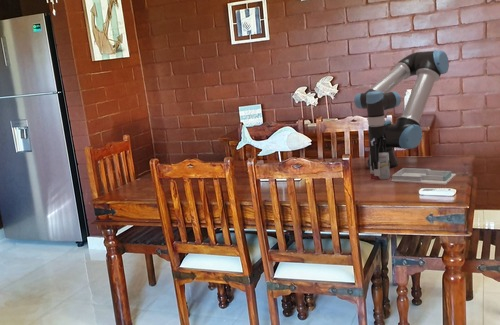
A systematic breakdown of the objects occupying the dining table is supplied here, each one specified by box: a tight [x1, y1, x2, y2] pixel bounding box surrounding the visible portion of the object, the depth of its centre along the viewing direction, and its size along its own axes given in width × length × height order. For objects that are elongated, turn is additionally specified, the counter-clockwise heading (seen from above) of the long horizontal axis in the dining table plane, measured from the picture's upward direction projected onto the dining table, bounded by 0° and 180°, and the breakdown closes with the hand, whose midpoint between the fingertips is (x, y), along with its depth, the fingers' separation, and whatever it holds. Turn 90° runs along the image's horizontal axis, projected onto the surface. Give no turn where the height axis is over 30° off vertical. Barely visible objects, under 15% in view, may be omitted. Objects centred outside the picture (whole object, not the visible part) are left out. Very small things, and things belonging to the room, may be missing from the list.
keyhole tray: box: [390, 167, 457, 186], centre depth 229 cm, size 16×24×3 cm, turn 53°
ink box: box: [368, 152, 391, 180], centre depth 237 cm, size 9×5×12 cm, turn 68°
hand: (380, 173), depth 238 cm, fingers closed on ink box, 6 cm apart
